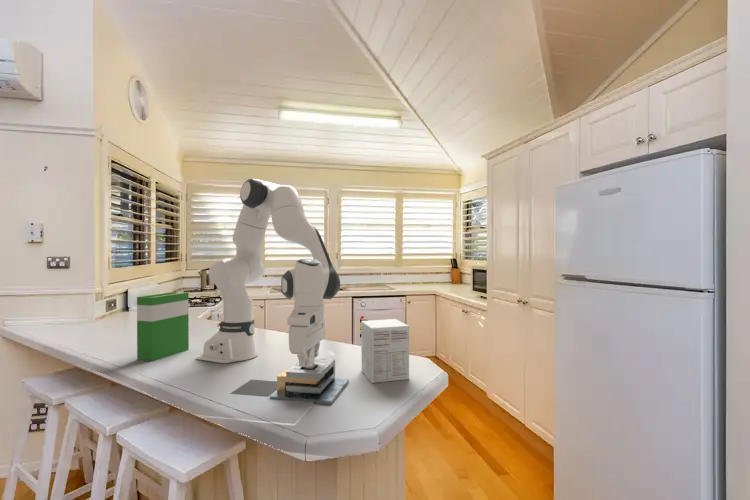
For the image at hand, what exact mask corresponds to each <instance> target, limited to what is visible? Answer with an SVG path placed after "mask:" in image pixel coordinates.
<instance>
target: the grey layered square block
mask: <svg viewBox="0 0 750 500" xmlns="http://www.w3.org/2000/svg"><path fill="white" fill-rule="evenodd" d="M349 380H350V378H339V377H336V358H321V357H320V358H319V357H315V370H304V367H300V366H299V361H298V362H297V363H296V364H295V365H293V366H292V367H290V368H285V370H284V371H282V372H281V373H279V374H278V375H277V376H276V381H277V390H276V391H275V392H274V393H272V394H271V395H270V396H269V399H272V400H282V401H283V400H285V401H295V402H296V401H297V402H305V403H307V402H308V403H312V404H317V405H329V406H331V405H333V403H334V402H335V400H336V399H337V398H338V397H339V395H340V394H341V393H342V392H343V390H344V389H345V388H346V386H347V385H348V384H349V382H350V381H349ZM305 383H306V384H305Z"/></svg>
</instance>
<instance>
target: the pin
mask: <svg viewBox="0 0 750 500" xmlns="http://www.w3.org/2000/svg"><path fill="white" fill-rule="evenodd" d="M305 357H306V359H307V365H306V366H305V367H304V370H315V358H316V357H315V345H314V346H313V347H311V348H310V349H309V350H307V351H306V355H305ZM305 384H306V383H305Z"/></svg>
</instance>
